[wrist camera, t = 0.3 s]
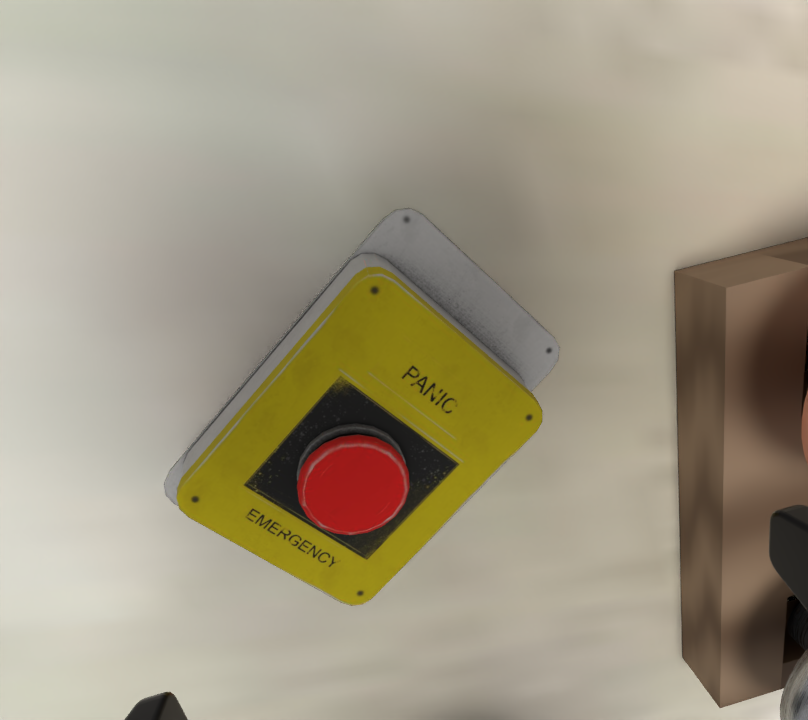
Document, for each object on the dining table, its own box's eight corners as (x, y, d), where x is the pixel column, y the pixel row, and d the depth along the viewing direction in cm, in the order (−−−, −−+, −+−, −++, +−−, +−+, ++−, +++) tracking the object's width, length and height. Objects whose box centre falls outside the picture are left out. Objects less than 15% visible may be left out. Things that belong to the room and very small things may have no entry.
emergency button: (123, 555, 19) (423, 205, 16) (156, 482, 23) (400, 194, 20) (339, 665, 22) (616, 387, 19) (334, 584, 26) (563, 346, 23)
